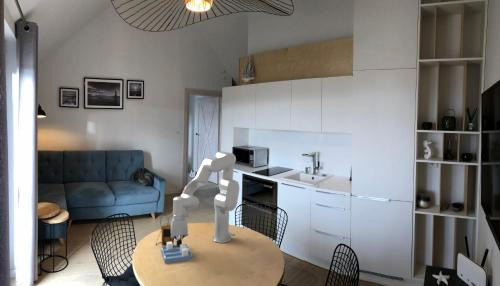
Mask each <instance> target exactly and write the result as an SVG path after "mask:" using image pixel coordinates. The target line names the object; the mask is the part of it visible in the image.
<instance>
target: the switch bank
mask: <svg viewBox="0 0 500 286" xmlns="http://www.w3.org/2000/svg"><path fill="white" fill-rule="evenodd" d="M184 244H185V245H186V247H187V248H188V256H182V252H180V246H179V247H178V245H177V244H173V249H170V250H167V245H164V246H160V253H161V256H162V259H163V262H164V264H170V263H177V262H184V261H192V260H194V258H193V257H194V255H193V253H192V252H191V249H190V247H189V246H188V243H184Z"/></svg>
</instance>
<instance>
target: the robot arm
mask: <svg viewBox="0 0 500 286" xmlns="http://www.w3.org/2000/svg"><path fill="white" fill-rule="evenodd" d="M214 155H215V157H214V158H213V157H206V158H204V159H203V161H202V162H201V165H200V166H199V168H198V171H197V173H196V174H195V177H193V179H192V180H190V181H189V183H187V185H185V187H184V189H183V191H182V193H181V194H180V196H175V197H174V198H173V201H172V213H173V214H172V215H173V216H172V219H171V222H170V225H171V230H170V232H171V236H170V237H171V238H174V240H175V241H177V242H176V245H178V247H179V246H180V244H183V239H185V237H189V234H188V233H189V227H188V220H187V217H189V214H186V210H187V209H195V208H197V207H199V204H200V199H199V198H198V197H197V196H195V195H194V193H195V192H196V190H198V188H200V187H203V186H206V185H207V184H208V181H209V180H210V178H211V176H212V173H219V175H220V176H219V180H218V189H219V190H220V191H221V193H220V192H219V193H217V194H216V195H215V196H214V199H213V205H214V236H212V238H211V240H212V241H213V242H215V243H223V244H225V243H227V242H228V243H229V242H230V241H231V240H232V238H231V237H236V232H230V231H229V230H230V223H229V222H230V212H232V211H235V209H236V207H237V205H238V201H239V200H238V199H239V194H240V184H239V182H238V181H237V180H236V179H233V178H234V165H235V163H236V161H237V158H236V155H235V154H234V153H233V152H227V151H217V152H216V153H215V154H214ZM178 236H179V238H178Z"/></svg>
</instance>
